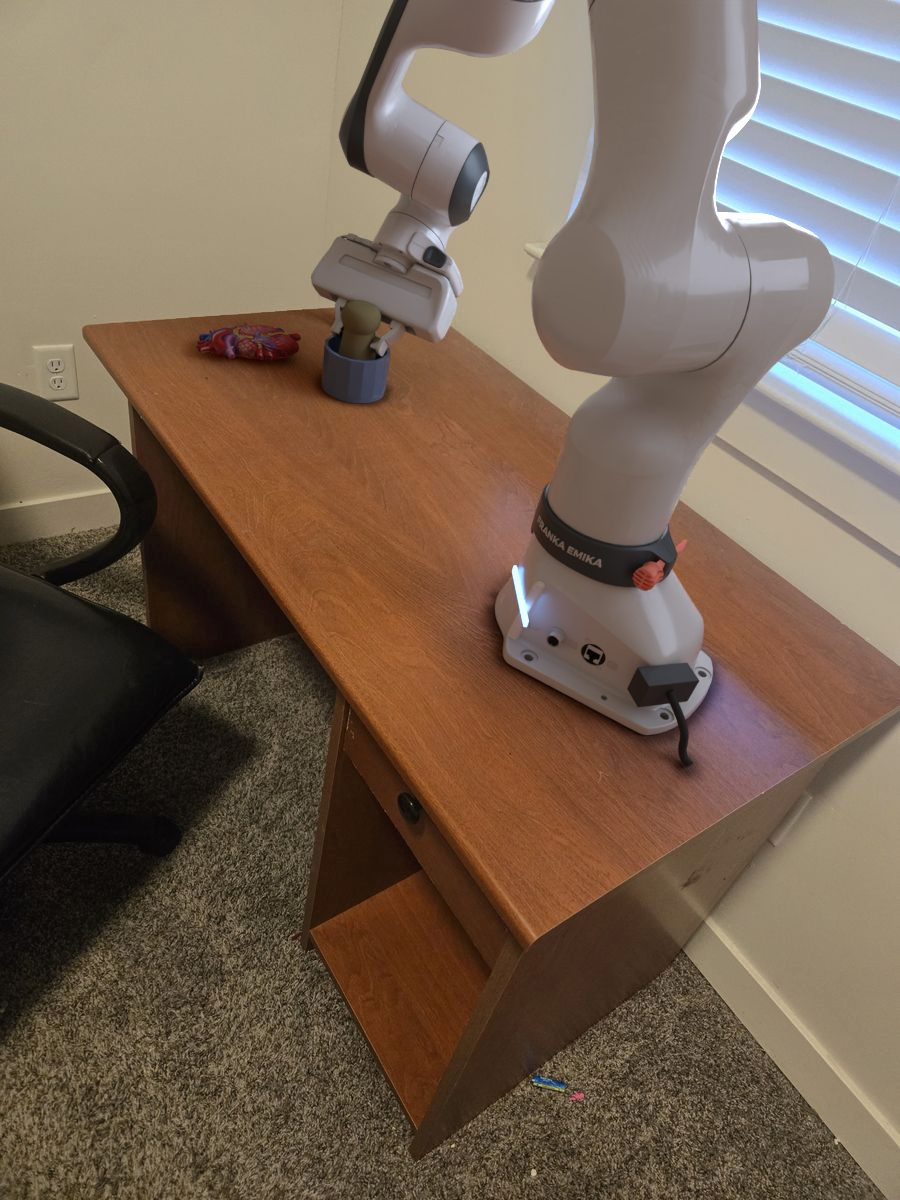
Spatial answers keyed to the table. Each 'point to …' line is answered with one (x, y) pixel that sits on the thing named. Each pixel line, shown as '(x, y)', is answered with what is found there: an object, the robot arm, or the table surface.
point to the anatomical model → (250, 342)
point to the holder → (353, 375)
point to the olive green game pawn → (359, 329)
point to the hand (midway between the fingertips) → (355, 344)
